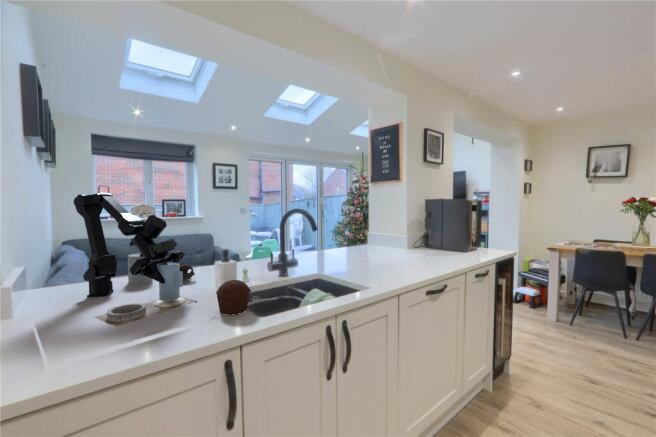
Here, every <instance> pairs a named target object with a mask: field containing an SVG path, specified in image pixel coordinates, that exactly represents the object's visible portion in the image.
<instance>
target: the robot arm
mask: <svg viewBox="0 0 656 437" xmlns="http://www.w3.org/2000/svg"><path fill="white" fill-rule="evenodd" d="M73 205H74V207H75V210H76V212H77V214H79V215H80V216H81V217H82V218H83V220H84V224H85V229H86V235H87V239H88V241H89V242H88V243H89V247H90V251H91V256H90V257H89V259H88V260H89V261H88V262H87V263H88V268H87V269H86V271H85V272H84V274H83V275H82V277H83V281H85V282H88V294H87V295H86V297H87V298H90V297H94V298H96V297H106V296H108V295H110V294H112V293H113V292H114V290H113V289H114V288H113V281H112V278H115V277H116V273H117V268H118V262H117V259H116V255H115V254H114V253H113V254H111V253H110V252H109V251H108V247H107V243H106V238H105V237H106V236H105V232H104V229H103V225H102V221H101V220H102V219H101V214H102V213H103V210H104V211H105V212H106V213H108V215H110V216H111V217H112V219H114V220H115V221H116V222H117V228H118V229H119V231H120V233H121V234H122V235H123V236H125V237H128V236H129V237H130V236H133V237H132V238H131V239H130V242H129V247H134V246H135V247H136V248H137V249H138V250H139V253H141V254H140V255H139V256H140V257H141V259H137V260H136V261H135V262H134V264H133V265H132V266H131V267H130V272H131V274H132V275H133V276H134V275H138V274H140V275H141V276H143V275H144V276H146V277H149V278H152V279H153V281H156V282H158V283H159V282H160V283H162V284H164V283H165V280H164V278H163V276H162V275H161V273H160V272H159V268H158V266H159V265H160V264H163V263H179V264H180V262H181V261H182V260H183V258H185V257H186V255H185V253H184V252H183V251H182V250H181V251H178V250H177V251H173V252H172V253H170V254H169V252H170V251H172V250H175V249H176V247H177V246H178V245H177V241H176V240H175V239H174V238H169V239H168V240H164V241H160V242H159V243H158V242H156V241H155V239H158V238H159V237H160V235H161V234H162V233H163V232H164V230H165V229H166V228H167V226H168V225H167V222H166V220H164V219H162V218H161V217H158V216H156V215H155V214H150V215H148V217H147V219H146V220H144V219H143V218H141V217H139V216H137V215H134V214H132V213H130V212H129V211H128V210H127V209H126V208H125V207H124V206H123V205H121V204H120V203H119V202H118V201H117V200H116V199H115V198H114V196H113V194H111V193H109V192H97V193H91V194H80V193H79V194H77V196H75V197H74V199H73ZM168 255H169V256H168ZM166 256H167V257H166ZM142 257H144V258H142ZM141 272H142V273H141Z"/></svg>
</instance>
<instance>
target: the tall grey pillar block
mask: <svg viewBox="0 0 656 437" xmlns="http://www.w3.org/2000/svg"><path fill="white" fill-rule="evenodd" d="M140 254H141V252H138V253H131V254H128V255H127V273H128V274H127V277H128V279H127V280H128V282H127V283H128V285H143V284H147V283H151V282H153V281H154V279H152V278H149V277H146V276H144V275H143V276H141V275H140V274H138V275H134V276H133V275H132V274H131V272H130V267H131V266H132V265H133V264H134V262H135V261H136V260H137V259H141V257H140V256H139V255H140ZM142 258H144V257H142ZM141 273H142V272H141Z"/></svg>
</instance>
